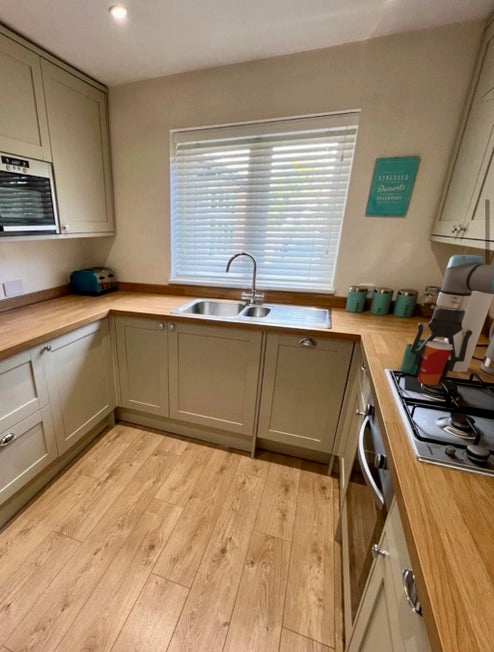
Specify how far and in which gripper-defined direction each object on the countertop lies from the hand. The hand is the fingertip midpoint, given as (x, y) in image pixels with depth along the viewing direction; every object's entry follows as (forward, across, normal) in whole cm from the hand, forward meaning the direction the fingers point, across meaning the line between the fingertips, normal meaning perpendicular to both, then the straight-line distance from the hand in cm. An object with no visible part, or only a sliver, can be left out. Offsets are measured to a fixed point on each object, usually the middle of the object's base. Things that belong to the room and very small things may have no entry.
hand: (429, 376), depth 108 cm
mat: (+4, 0, 0) cm, 4 cm away
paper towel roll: (+4, +9, +28) cm, 30 cm away
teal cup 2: (+4, -1, +21) cm, 21 cm away
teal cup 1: (+4, -4, +12) cm, 13 cm away
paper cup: (+2, 0, 0) cm, 2 cm away
